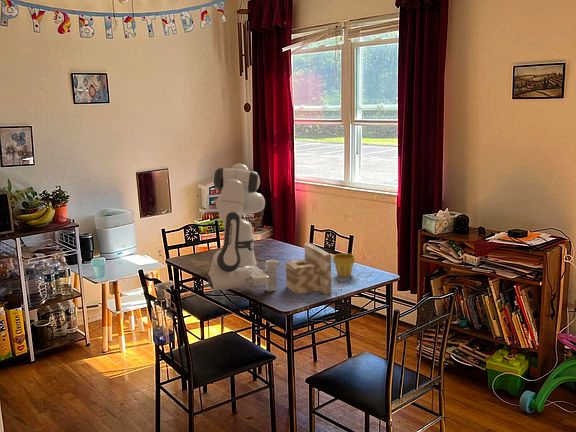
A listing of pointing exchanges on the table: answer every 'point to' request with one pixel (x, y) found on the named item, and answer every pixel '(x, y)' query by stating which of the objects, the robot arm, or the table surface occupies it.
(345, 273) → the plant pot
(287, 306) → the table surface
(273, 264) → the grey brown tall block
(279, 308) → the table surface
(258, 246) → the table surface
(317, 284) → the tan blocky piece
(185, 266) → the table surface
